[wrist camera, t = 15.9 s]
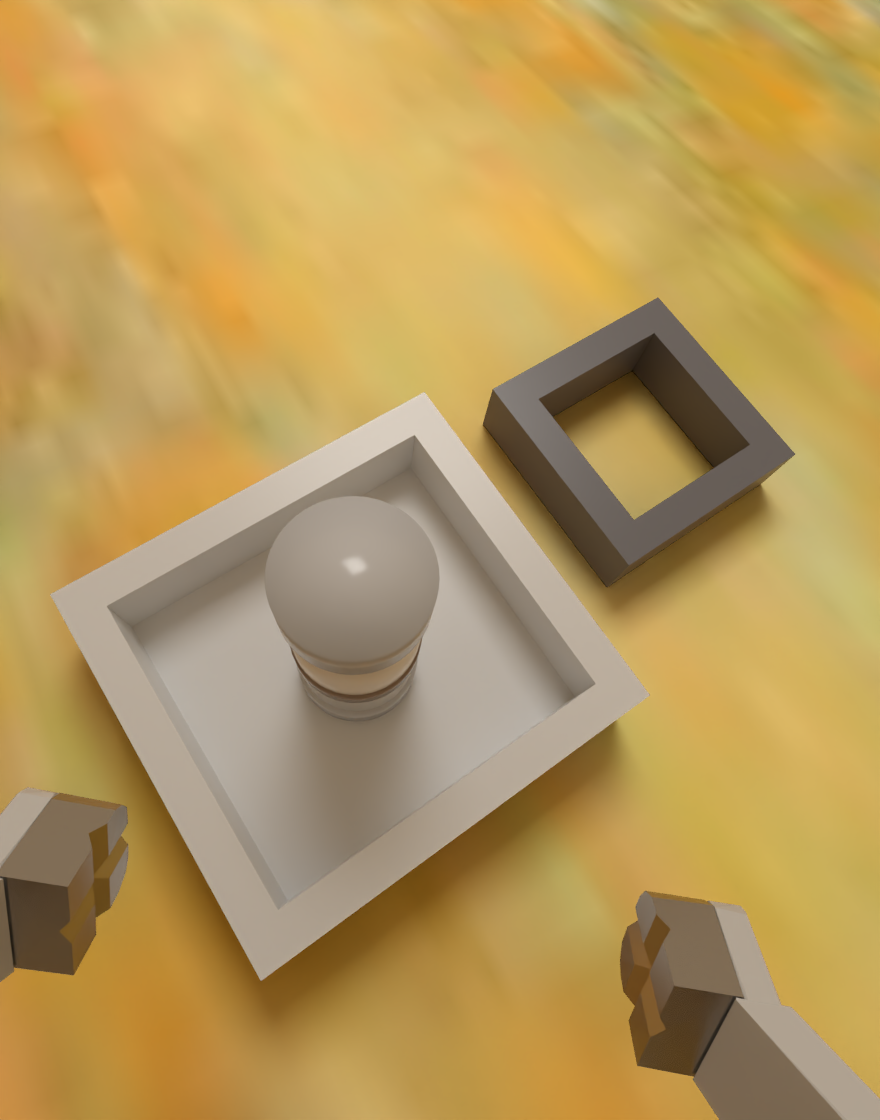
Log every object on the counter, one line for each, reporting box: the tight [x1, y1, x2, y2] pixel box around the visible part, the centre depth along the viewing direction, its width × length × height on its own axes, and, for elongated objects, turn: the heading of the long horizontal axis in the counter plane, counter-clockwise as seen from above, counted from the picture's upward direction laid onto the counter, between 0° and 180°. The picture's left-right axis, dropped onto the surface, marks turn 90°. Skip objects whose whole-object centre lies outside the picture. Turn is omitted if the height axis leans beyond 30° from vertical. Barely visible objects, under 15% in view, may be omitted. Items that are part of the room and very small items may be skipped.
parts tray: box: [50, 392, 650, 981], centre depth 24 cm, size 13×12×4 cm
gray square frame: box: [483, 298, 795, 587], centre depth 28 cm, size 8×8×2 cm
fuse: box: [265, 496, 440, 722], centre depth 20 cm, size 4×4×9 cm
